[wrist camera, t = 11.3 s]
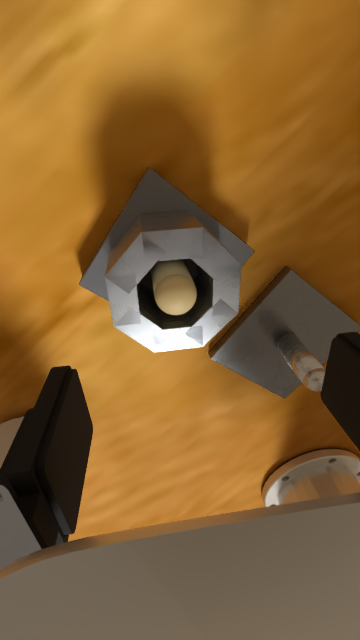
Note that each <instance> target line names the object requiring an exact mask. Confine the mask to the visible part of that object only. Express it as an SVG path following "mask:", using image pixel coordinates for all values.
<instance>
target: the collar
mask: <svg viewBox="0 0 360 640" xmlns="http://www.w3.org/2000/svg"><path fill="white" fill-rule="evenodd" d="M190 258H191V259H192V260H193V261H194V262H195V263H196V264H197V276H196V277H195V278H194V279H193V282H194V284H195V287H196V291H197V297H196V301H195V303H194V305H193V307H192V308H191V309H190V310H189V311H187V312H186V313H184V314H181V315H171V314H167V313H165V312H164V311H162V310H161V309H160V308H159V307H158V305H157V303H156V301H155V297H154V292H153V291H152V290H151V289H149V288H148V287H147V286H145V285H144V284H142V283H141V282H140V280H141V279H142V278H143V277H144V276H145V275H146V274H147V273H148V271H149V270H150V269H151V268H152V267H153V266H154V265H155V263H156V262H157V261H167V260H178V259H190ZM240 278H241V264H240V262H239V261H238V260H237V259H236V258H235V257H234V256H233V255H232V254H231V253H230V252H229V250H228V249H227V248H226V247H225V246H224V245H223V244H222V243H221V242H220V241H219V240H218V239H217V238H216V237H215V236H214V235H213V234H212V233H211V232H210V231H209V230H208V229H207V228H206V227H205V226H204V225H203V224H202V223H201V222H200V221H199V220H198V219H197V218H195V217H194V216H193V215H192V214H191V213H190V212H189V211H188V210H173V211H159V212H144V213H139V214H138V216H137V217H136V218H135V219H134V221H133V222H132V223H131V224H130V226H129V227H128V228H127V229H126V231H125V232H124V233H123V234H122V236H121V237H120V238H119V239H118V241H117V242H116V243H115V244H114V245H113V247H112V248H111V250H110V254H109V259H108V264H107V269H106V273H105V281H106V286H107V292H108V297H109V303H110V308H111V314H112V319H113V325H114V327H116V328H117V329H119V330H120V331H122V332H123V333H125V334H127V335H128V336H130V337H131V338H133V339H134V340H136V341H138V342H139V343H141V344H142V345H144V346H145V347H147V348H149V349H150V350H152V351H153V352H161V351H169V350H178V349H187V348H195V347H203V346H204V345H205V344H206V343H207V342H208V341H209V340H210V339H211V338H212V337H214V336H215V335H216V334H217V333H218V332H219V331H220V330H221V329H222V328H223V327H224V326H225V325H226V324H227V323H228V322H229V321H230V320H232V319H233V318H234V317H235V316H236V315H237V314H238V308H239V293H240Z"/></svg>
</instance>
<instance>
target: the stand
mask: <svg viewBox="0 0 360 640" xmlns="http://www.w3.org/2000/svg"><path fill="white" fill-rule="evenodd" d="M359 330H360V325H359V324H358V323H356V322H355V321H354V320H353V319H351V318H350V317H349V316H348V315H346V314H345V313H344V312H343V311H341V310H340V309H339V308H338V307H337V306H335V305H334V304H333V303H332V302H330V301H329V300H328V299H327V298H325V297H324V296H323V295H322V294H320V293H319V292H318V291H317V290H315V289H314V288H313V287H312V286H311V285H309V284H308V283H307V282H306V281H304V280H303V279H302V278H301V277H299V276H298V275H297V274H296V273H294V272H293V271H292V270H291V269H289V268H288V267H287V266H286V267H285V268H284V269H283V270H282V271H281V272H280V273H279V274H278V275H277V277H276V278H275V279H274V280H273V281H272V282H271V283H270V284H269V286H268V287H267V288H266V289H265V290H264V291H263V292H262V293H261V295H260V296H259V297H258V298H257V299H256V300H255V301H254V302H253V304H252V305H251V306H250V307H249V308H248V309H247V310H246V311H245V313H244V314H243V315H242V316H241V317H240V318H239V319H238V320H237V322H236V323H235V324H234V325H233V326H232V327H231V328H230V329H229V330H228V332H227V333H226V334H225V335H224V336H223V337H222V338H221V339H220V341H219V342H218V343H217V344H216V345H215V346H214V347H213V348H212V350H211V351H210V352H209V355H210V358H211V359H212V360H214V361H216V362H218V363H220V364H221V365H223V366H225V367H227V368H229V369H231V370H233V371H234V372H236V373H238V374H240V375H242V376H244V377H246V378H247V379H249V380H251V381H253V382H255V383H257V384H258V385H260V386H262V387H264V388H266V389H268V390H270V391H271V392H273V393H275V394H277V395H279V396H281V397H283V398H284V399H285V398H286V397H287V396H288V395H289V394H290V393H292V392H293V391H294V390H295V389H296V388H297V387H298V386H299V385H300V384H301V383H302V384H303V385H304V386H305V387H306V388H307V389H308V390H310V391H313V392H320V391H321V390H322V385H323V380H324V376H325V371H326V370H325V368H324V367H323V366H322V364H323V363H324V362H325V361H327V360H328V356H329V352H330V347H331V342H332V340H333V338H336V335H337V334H339V333H346V332H358V331H359Z"/></svg>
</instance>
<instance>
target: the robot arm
mask: <svg viewBox="0 0 360 640" xmlns="http://www.w3.org/2000/svg"><path fill="white" fill-rule="evenodd" d="M321 398H322V401H323V403H324V404H325V405H326V407H327V408H328V409H329V411H330V412H331V413H332V415H333V416H334V417H335V419H336V420H337V421H338V423H339V424H340V425H341V427H342V428H343V429H344V431H345V432H346V433H347V435H348V436H349V437H350V439H351V440H352V441H353V443H354V444H355V445H356V447H357V448H358V449H359V451H360V335H359V334H358V333H357V332H346V333H339V334H337V335H336V338H333V340H332V342H331V347H330V352H329V356H328V361H327V366H326V371H325V376H324V380H323V385H322V390H321ZM92 434H93V425H92V421H91V418H90V414H89V411H88V407H87V404H86V400H85V397H84V393H83V390H82V386H81V383H80V379H79V376H78V372H77V370H76V369H71V367H70V366H61V367H53V368H52V369H51V370H50V372H49V375H48V377H47V379H46V382H45V384H44V386H43V389H42V391H41V393H40V396H39V398H38V400H37V402H36V405H35V407H34V408H33V409H29V410H28V411H27V412H26V414H25V416H24V418H23V420H22V422H21V425H20V427H19V429H18V431H17V433H16V436H15V438H14V440H13V442H12V444H11V446H10V449H9V451H8V453H7V455H6V457H5V460H4V462H3V464H2V466H1V468H0V640H360V459H359V458H358V457H357V456H356V455H355V454H353V453H351V452H349V451H346V450H341V449H324V450H318V451H313V452H310V453H307V454H304V455H301V456H299V457H296V458H294V459H292V460H290V461H289V462H287V463H285V464H284V465H282V466H281V467H280V468H278V469H277V470H276V471H275V472H274V473H273V474H272V475H271V476H270V477H269V478H268V480H267V481H266V482H265V485H264V487H263V490H262V498H263V501H264V504H265V506H266V507H263V508H257V509H251V510H244V511H238V512H232V513H226V514H219V515H213V516H207V517H201V518H195V519H189V520H183V521H177V522H171V523H165V524H159V525H152V526H146V527H141V528H135V529H130V530H124V531H119V532H113V533H108V534H102V535H97V536H91V537H86V538H82V539H78V540H74V541H69V542H68V537H69V534H73V533H74V532H75V529H76V524H77V518H78V513H79V507H80V502H81V496H82V490H83V485H84V479H85V474H86V468H87V462H88V457H89V451H90V446H91V440H92Z"/></svg>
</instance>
